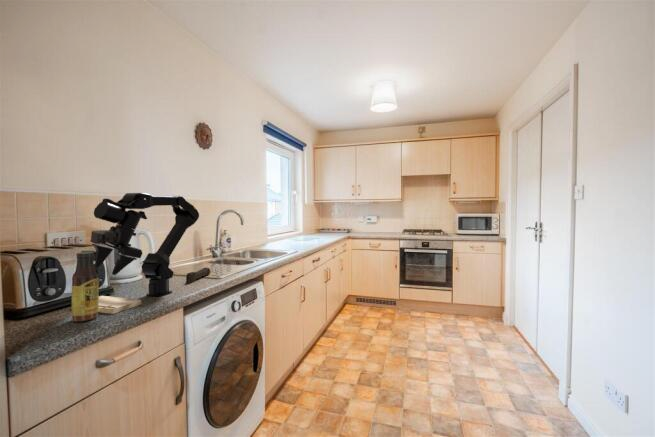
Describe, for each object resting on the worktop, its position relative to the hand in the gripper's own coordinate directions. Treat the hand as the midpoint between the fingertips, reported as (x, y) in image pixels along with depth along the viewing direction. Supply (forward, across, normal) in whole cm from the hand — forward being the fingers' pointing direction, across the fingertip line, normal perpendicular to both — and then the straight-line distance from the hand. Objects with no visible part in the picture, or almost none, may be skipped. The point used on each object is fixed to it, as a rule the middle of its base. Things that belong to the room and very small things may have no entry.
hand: (104, 270), depth 98 cm
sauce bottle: (+14, +8, -4) cm, 16 cm away
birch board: (+11, +2, +5) cm, 12 cm away
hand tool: (-2, -1, +44) cm, 45 cm away
